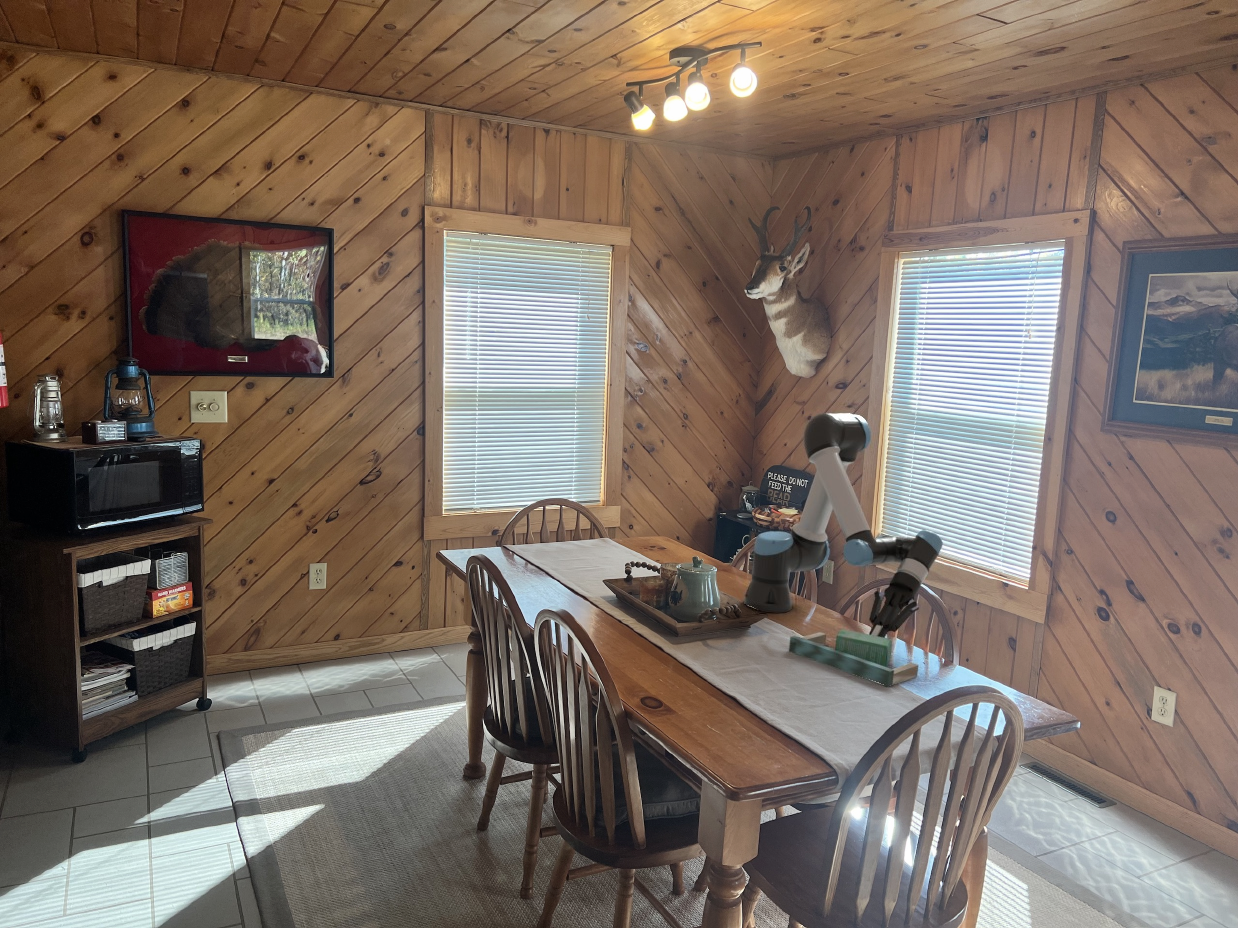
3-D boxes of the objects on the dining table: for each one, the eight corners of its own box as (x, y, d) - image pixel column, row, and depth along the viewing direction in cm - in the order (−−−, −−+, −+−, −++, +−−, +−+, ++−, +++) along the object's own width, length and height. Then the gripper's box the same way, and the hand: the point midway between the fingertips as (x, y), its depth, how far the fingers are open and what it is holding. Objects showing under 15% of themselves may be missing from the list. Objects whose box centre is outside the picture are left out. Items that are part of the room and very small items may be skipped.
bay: (788, 650, 237) (790, 636, 237) (819, 642, 247) (820, 628, 246) (888, 687, 215) (889, 671, 215) (917, 676, 225) (919, 661, 224)
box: (885, 673, 225) (888, 644, 225) (832, 662, 231) (835, 634, 230) (890, 665, 232) (893, 637, 231) (838, 654, 238) (841, 627, 237)
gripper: (933, 592, 241) (895, 662, 232) (891, 581, 251) (853, 648, 242) (926, 576, 237) (887, 647, 228) (883, 565, 246) (844, 633, 237)
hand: (869, 647), depth 235 cm, fingers closed
